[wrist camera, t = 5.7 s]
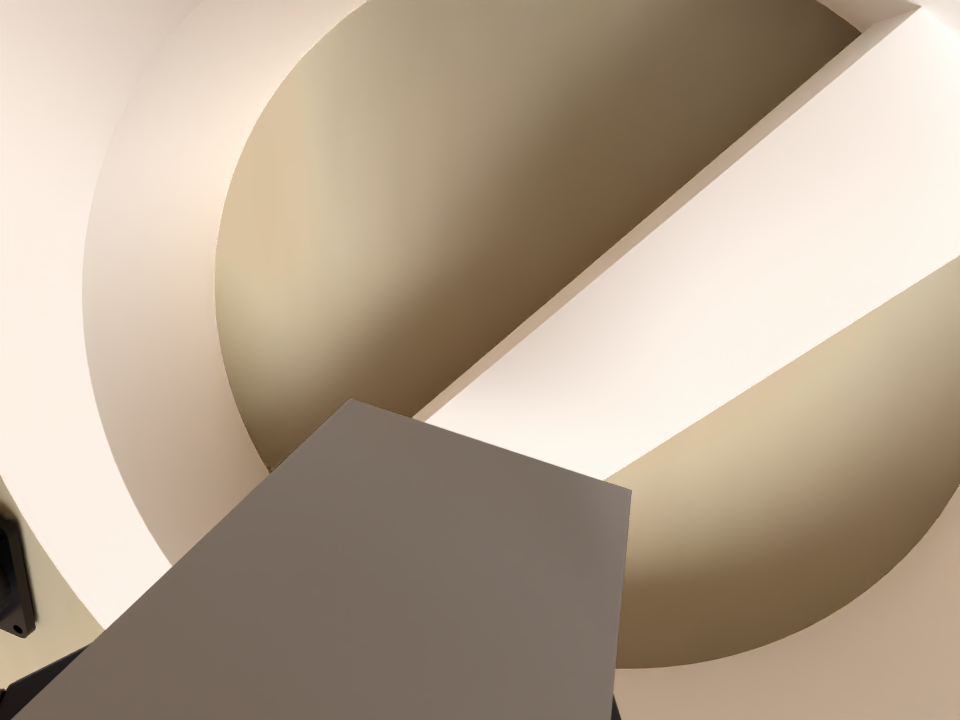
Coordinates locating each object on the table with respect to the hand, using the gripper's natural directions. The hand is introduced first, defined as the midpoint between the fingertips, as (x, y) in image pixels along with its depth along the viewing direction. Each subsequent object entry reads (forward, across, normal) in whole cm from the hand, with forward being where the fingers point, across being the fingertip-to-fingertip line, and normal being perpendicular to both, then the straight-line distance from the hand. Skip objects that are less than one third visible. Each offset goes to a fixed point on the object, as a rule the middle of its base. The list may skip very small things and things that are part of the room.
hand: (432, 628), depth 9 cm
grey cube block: (+1, 0, 0) cm, 1 cm away
